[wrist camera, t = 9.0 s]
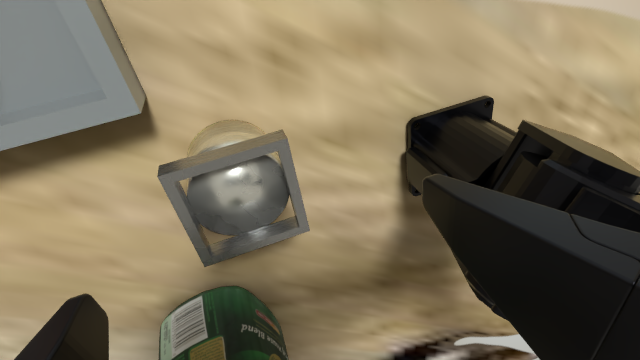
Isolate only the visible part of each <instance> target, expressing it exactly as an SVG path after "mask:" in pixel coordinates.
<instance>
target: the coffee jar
mask: <svg viewBox="0 0 640 360" xmlns="http://www.w3.org/2000/svg"><path fill="white" fill-rule="evenodd" d="M159 360H289V359H288V355H287V351H286V347H285V342H284V338H283V334H282V331H281V327H280V325H279V323H278V321H277V320H276V318H275V316H274V315H273V314H272V312H271V311H270V310H269V309H268V308H267V307H266V306H265V305H264V304H263V303H262V302H261V301H260V300H259V299H258V298H257V297H255V296H254V295H253V294H252V293H250V292H249V291H247V290H245V289H244V288H241V287H238V286H228V287H219V288H215V289H212V290H208V291H205V292H202V293H200V294H198V295H196V296H194V297H192V298H190V299H188V300H187V301H185V302H183V303H182V304H181V305H179V306H178V307H177V308H176V309H175V310H173V311H172V312H171V313H170V314H169V315H168V316H167V317H166V318H165V320H164V321H163V323H162V325H161V328H160V339H159Z"/></svg>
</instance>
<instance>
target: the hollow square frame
mask: <svg viewBox="0 0 640 360" xmlns="http://www.w3.org/2000/svg"><path fill="white" fill-rule="evenodd" d="M276 151H278V155H279V158H280V160H279V158H278V156H277V153H276ZM158 179H159V180H160V182H161V184H162V186H163V188H164V190H165V192H166V194H167V196H168V198H169V200H170V201H171V203H172V205H173V207H174V209H175V211H176V213H177V215H178V217H179V219H180V221H181V222H182V224H183V226H184V228H185V230H186V232H187V234H188V236H189V238H190V240H191V242H192V243H193V245H194V247H195V249H196V251H197V253H198V255H199V257H200V259H201V261H202V263H203V264H204V266H205V267H206V266H209V265H212V264H215V263H218V262H221V261H224V260H226V259H229V258H232V257H235V256H238V255H241V254H244V253H247V252H250V251H252V250H255V249H258V248H261V247H264V246H267V245H270V244H273V243H276V242H278V241H281V240H284V239H287V238H290V237H293V236H296V235H299V234H301V233H304V232H307V231H310V229H309V225H308V221H307V217H306V213H305V209H304V205H303V200H302V196H301V192H300V188H299V184H298V180H297V176H296V172H295V168H294V164H293V160H292V156H291V152H290V147H289V143H288V139H287V137H286V135H285V133H284V131H283V130H279V131H276V132H273V133H269V134H265V133H264V132H263V131H262V130H261V129H260V128H258V127H257V126H255V125H253V124H251V123H248V122H244V121H239V120H225V121H220V122H217V123H214V124H212V125H210V126H208V127H206V128H205V129H203V130H202V131H201V132H199V133H198V134H197V136H196V137H195V138H194V139H193V141H192V142H191V145H190V147H189V150H188V154H187V158H184V159H180V160H177V161H174V162H170V163H167V164H163V165H160V166H159V170H158ZM184 179H187V196H186V194H185V192H184V190H183V188H182V186H181V184H180V182H179V181H180V180H184ZM289 195H290V199H291V203H292V206H293V210H294V214H295V216H294V217H291V218H288V219H285V220H282V221H279V222H276V223H273V224H271V223H272V222H273V221H274V220H275V219H276V218H277V217H278V216H279V215H280V214H281V213H282V211H283V210H284V208H285V206H286V204H287V202H288V198H289ZM200 224H201V225H202V226H204V227H205V228H207V229H209V230H210V231H213V232H216V233H219V234H223V235H238V236H235V237H232V238H229V239H226V240H223V241H220V242H217V243H214V244H211V245H210V244H209V242H208V240H207V238H206V236H205V234H204V232H203V229H202V227H201V225H200ZM269 224H270V225H269Z"/></svg>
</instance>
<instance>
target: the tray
mask: <svg viewBox="0 0 640 360" xmlns="http://www.w3.org/2000/svg"><path fill="white" fill-rule="evenodd" d="M145 98H146V95H145V93H144V90H143V88H142V86H141V84H140V82H139V80H138V78H137V76H136V73H135V71H134V69H133V67H132V65H131V63H130V61H129V59H128V56H127V54H126V52H125V50H124V48H123V46H122V44H121V42H120V39H119V37H118V35H117V33H116V31H115V29H114V27H113V25H112V22H111V20H110V18H109V16H108V14H107V12H106V10H105V8H104V5H103V3H102V1H101V0H0V151H2V150H6V149H9V148H13V147H17V146H21V145H24V144H28V143H32V142H36V141H39V140H43V139H47V138H51V137H54V136H58V135H62V134H66V133H69V132H73V131H77V130H81V129H84V128H88V127H92V126H96V125H99V124H103V123H107V122H111V121H114V120H118V119H122V118H126V117H129V116H133V115H137V114H141V112H142V108H143V105H144V102H145Z"/></svg>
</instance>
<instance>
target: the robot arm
mask: <svg viewBox="0 0 640 360" xmlns="http://www.w3.org/2000/svg"><path fill="white" fill-rule="evenodd" d="M486 102H487V103H486ZM485 103H486V104H485ZM493 104H494V100H493V98H491V97H489V96H482V97H479V98H476V99H472V100H469V101H466V102H463V103H459V104H456V105H453V106H450V107H446V108H443V109H440V110H437V111H433V112H430V113H427V114H424V115H420V116H417V117H414V118H412V119H411V120H410V121H409V123H408V149H407V152H406V160H407V180H408V181H409V192H410V193H411V194H412V195H413V196H418V195H421V194H422V201H423V205H424V208H425V209H426V211H427V212H428V214H429V216H430V217H431V219H432V220H433V222H434V223H435V225H436V227H437V228H438V230H439V231H440V233H441V234H442V236H443V238H444V239H445V241H446V242H447V244H448V245H449V247H450V248H451V250H452V252H453V254H454V256H455V258H456V260H457V262H458V264H459V266H460V268H461V270H462V272H463V274H464V276H465V278H466V280H467V282H468V284H469V286H470V287H471V289H472V290H473V292H474V293H475V295H476V297H477V298H478V299H479V300H480V301H482V302H483V303H484V304H486V305H487V306H488V307H489V308H491V310H492V311H493V312H494V313H495V314H497V315H499V316H500V317H502V318H504V319H506V320H508V321H509V322H510V323H511V324H512V325H513V327H514V328H515V329H516V330H517V332H518V333H519V334H520V335H521V337H522V338H523V339H524V340H525V341H526V342H527V344H528V345H529V346H530V348H531V349H532V350H533V351H534V353H535V354H536V355H537V356H538V358H539V359H540V360H640V171H638V170H637V169H635V168H634V167H632V166H631V165H629V164H628V163H626V162H625V161H623V160H622V159H620V158H619V157H617V156H616V155H614V154H613V153H611V152H609V151H606V150H604V149H602V148H600V147H597V146H595V145H593V144H590V143H588V142H586V141H583V140H581V139H579V138H577V137H574V136H572V135H569V134H566V133H562V132H559V131H556V130H553V129H550V128H547V127H544V126H541V125H538V124H534V123H531V122H528V121H525V120H523V121H522V122H521V124H520V125H519V127H518V129H519V130H518V132H515V131H513V130H511V129H509V128H507V127H505V126H503V125H502V124H500V123H498V122H496V121H494V120H492V112H493ZM416 123H417V126H416V127H414V125H415V124H416ZM415 189H416V190H415ZM14 360H109V324H108V317H107V314H106V313H105V311H104V310H103V309H102V308H101V307H100V305H99V304H98V303H97V302H96V301H95V300H94V298H93V297H92V296H91V295H89V294H82V295H79V296H76V297H73V298H70V299H68V300H67V301H66V302H65V303H64V304H63V305H62V306H61V307H60V309H59V310H58V311H57V312H56V313H55V314H54V315H53V316H52V318H51V319H50V320H49V321H48V322H47V323H46V324H45V325H44V327H43V328H42V329H41V330H40V331H39V332H38V333H37V334H36V336H35V337H34V338H33V339H32V340H31V341H30V342H29V343H28V345H27V346H26V347H25V348H24V349H23V350H22V351H21V352H20V354H19V355H18V356H17V357H16V358H15V359H14Z"/></svg>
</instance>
